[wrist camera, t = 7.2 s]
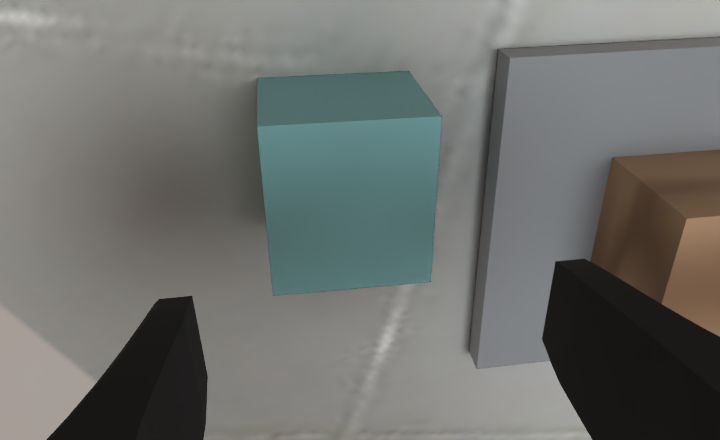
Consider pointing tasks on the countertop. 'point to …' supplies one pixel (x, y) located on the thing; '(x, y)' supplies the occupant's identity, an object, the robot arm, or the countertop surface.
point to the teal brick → (348, 180)
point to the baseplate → (573, 165)
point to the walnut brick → (665, 230)
